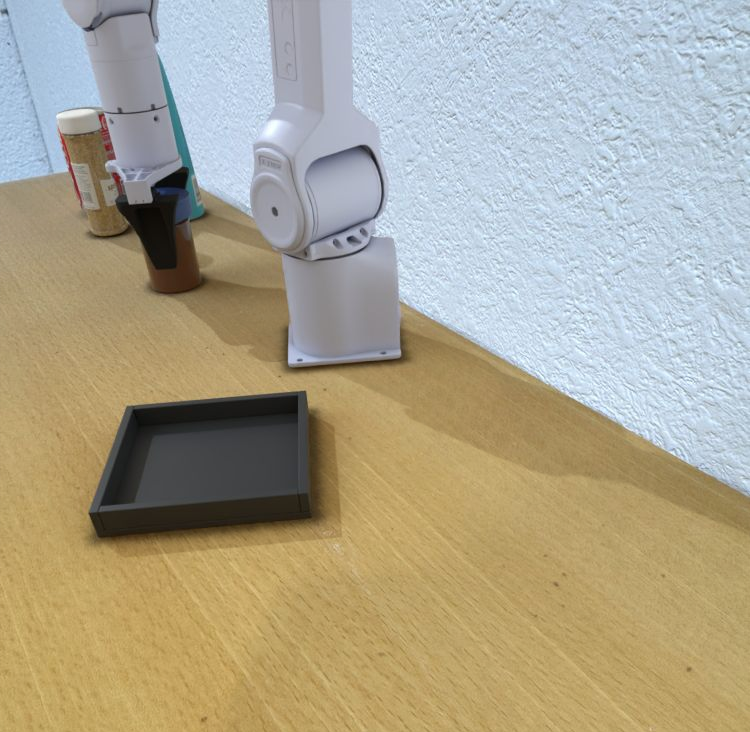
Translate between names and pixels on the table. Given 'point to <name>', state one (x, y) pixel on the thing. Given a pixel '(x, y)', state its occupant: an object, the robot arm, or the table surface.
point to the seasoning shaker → (109, 152)
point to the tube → (182, 148)
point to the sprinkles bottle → (92, 170)
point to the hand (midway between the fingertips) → (171, 256)
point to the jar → (186, 268)
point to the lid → (179, 202)
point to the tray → (206, 465)
